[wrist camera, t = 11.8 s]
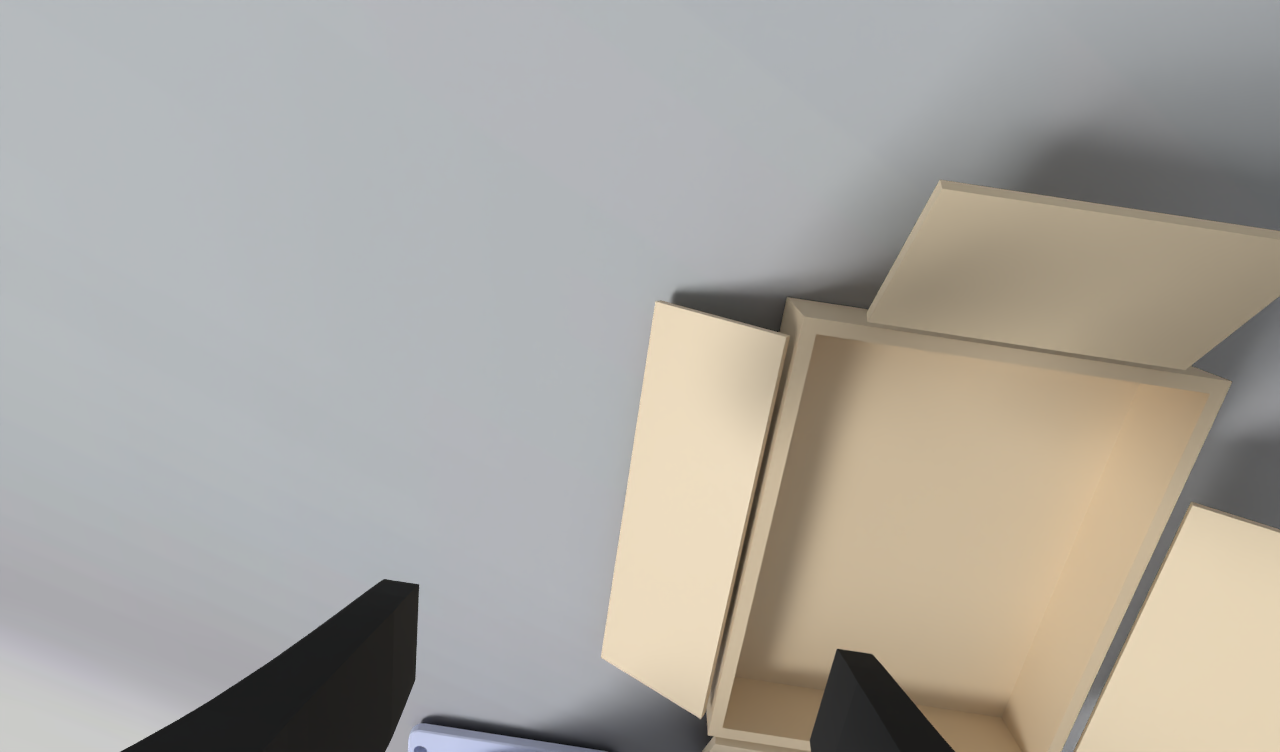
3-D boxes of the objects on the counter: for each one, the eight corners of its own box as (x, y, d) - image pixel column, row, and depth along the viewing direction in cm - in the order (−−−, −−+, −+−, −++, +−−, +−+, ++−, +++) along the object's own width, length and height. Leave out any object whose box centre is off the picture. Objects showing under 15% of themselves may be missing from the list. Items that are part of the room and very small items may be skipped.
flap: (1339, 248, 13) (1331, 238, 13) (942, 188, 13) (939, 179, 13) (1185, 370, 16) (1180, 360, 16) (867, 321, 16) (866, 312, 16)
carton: (975, 798, 24) (1009, 869, 22) (588, 738, 24) (578, 803, 22) (1161, 353, 19) (1236, 382, 16) (659, 277, 19) (656, 294, 16)
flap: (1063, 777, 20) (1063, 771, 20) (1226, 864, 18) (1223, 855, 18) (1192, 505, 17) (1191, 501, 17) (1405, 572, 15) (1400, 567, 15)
